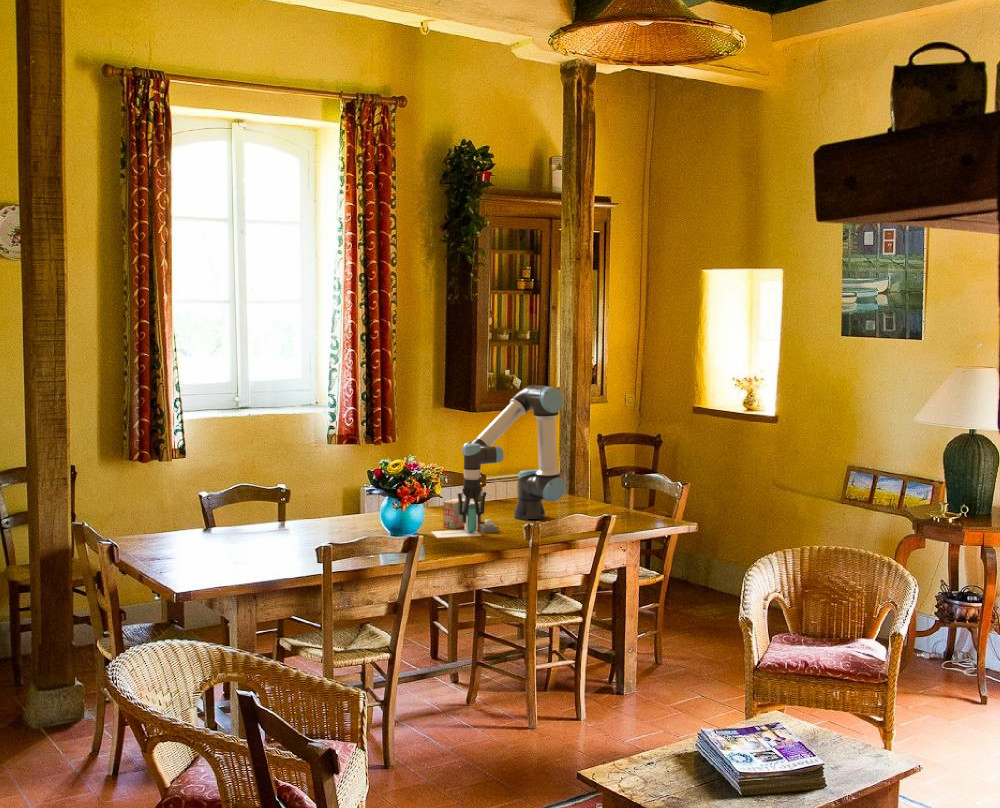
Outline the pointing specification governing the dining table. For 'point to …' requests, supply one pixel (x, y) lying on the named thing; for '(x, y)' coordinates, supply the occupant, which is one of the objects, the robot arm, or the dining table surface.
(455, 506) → the stack of blocks
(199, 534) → the dining table surface
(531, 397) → the robot arm
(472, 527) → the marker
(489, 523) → the button
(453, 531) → the sheet
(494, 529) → the block
